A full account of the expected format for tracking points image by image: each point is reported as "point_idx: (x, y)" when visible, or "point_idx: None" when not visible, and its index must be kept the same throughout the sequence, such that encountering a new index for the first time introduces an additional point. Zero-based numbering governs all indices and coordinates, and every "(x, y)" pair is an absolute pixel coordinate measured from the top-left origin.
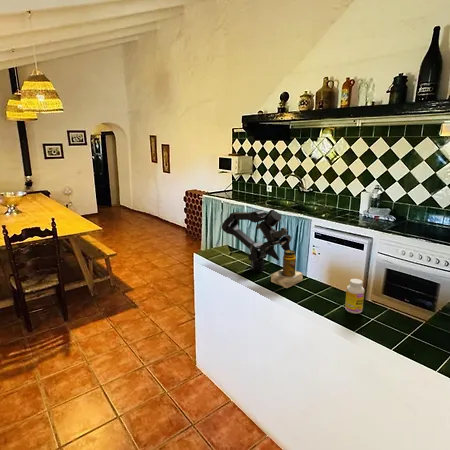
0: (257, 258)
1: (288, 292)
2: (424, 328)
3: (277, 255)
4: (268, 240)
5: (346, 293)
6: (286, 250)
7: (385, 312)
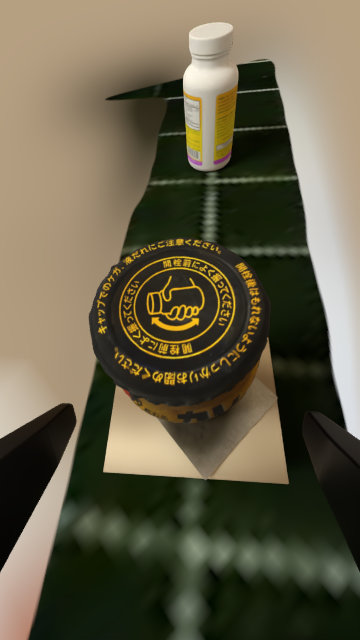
0: None
1: (282, 319)
2: (175, 93)
3: (353, 455)
4: None
5: (228, 107)
6: (169, 373)
7: (166, 132)
